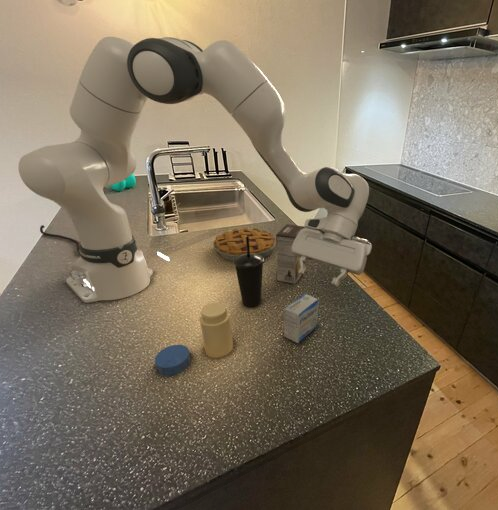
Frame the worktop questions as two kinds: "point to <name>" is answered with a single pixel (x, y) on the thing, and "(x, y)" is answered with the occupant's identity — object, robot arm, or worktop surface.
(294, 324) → the medicine box
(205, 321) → the jar
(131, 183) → the teal lumpy blob
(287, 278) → the coffee box
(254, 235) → the pie
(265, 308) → the worktop surface
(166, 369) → the lid
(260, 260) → the drinking cup
